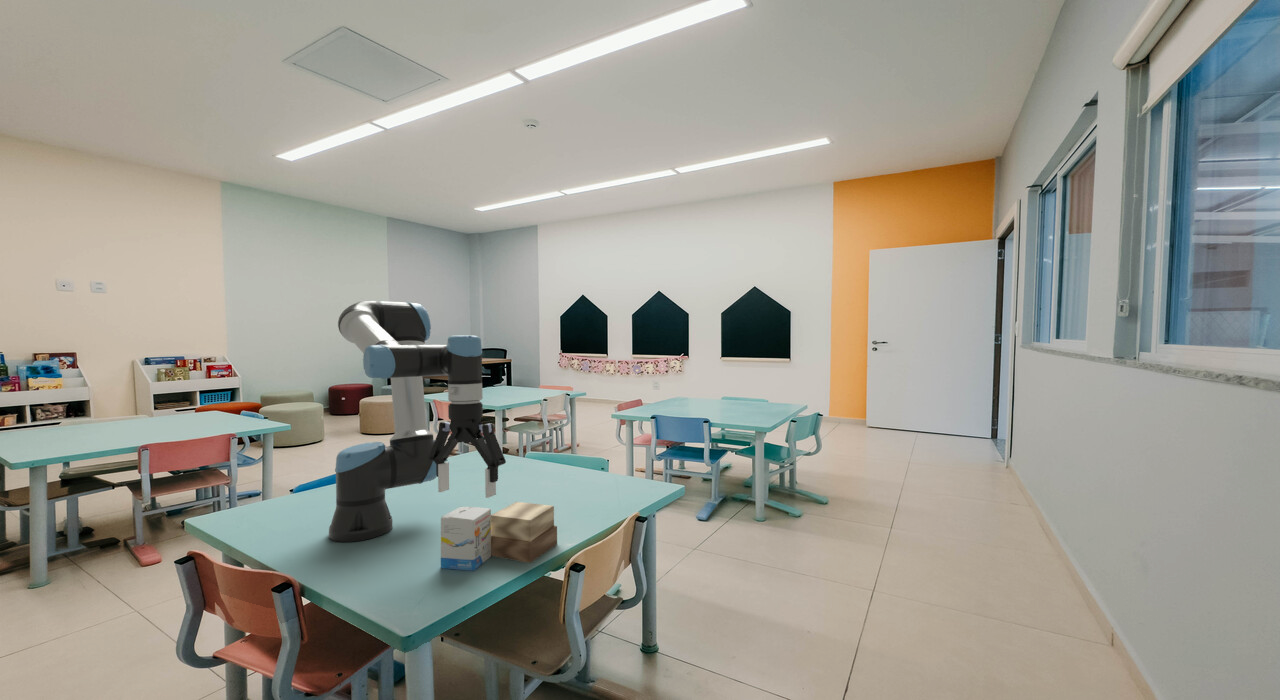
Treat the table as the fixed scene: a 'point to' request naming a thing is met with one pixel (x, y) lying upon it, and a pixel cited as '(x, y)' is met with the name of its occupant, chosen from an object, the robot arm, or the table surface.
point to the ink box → (465, 538)
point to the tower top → (522, 521)
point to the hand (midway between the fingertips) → (466, 493)
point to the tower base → (524, 546)
